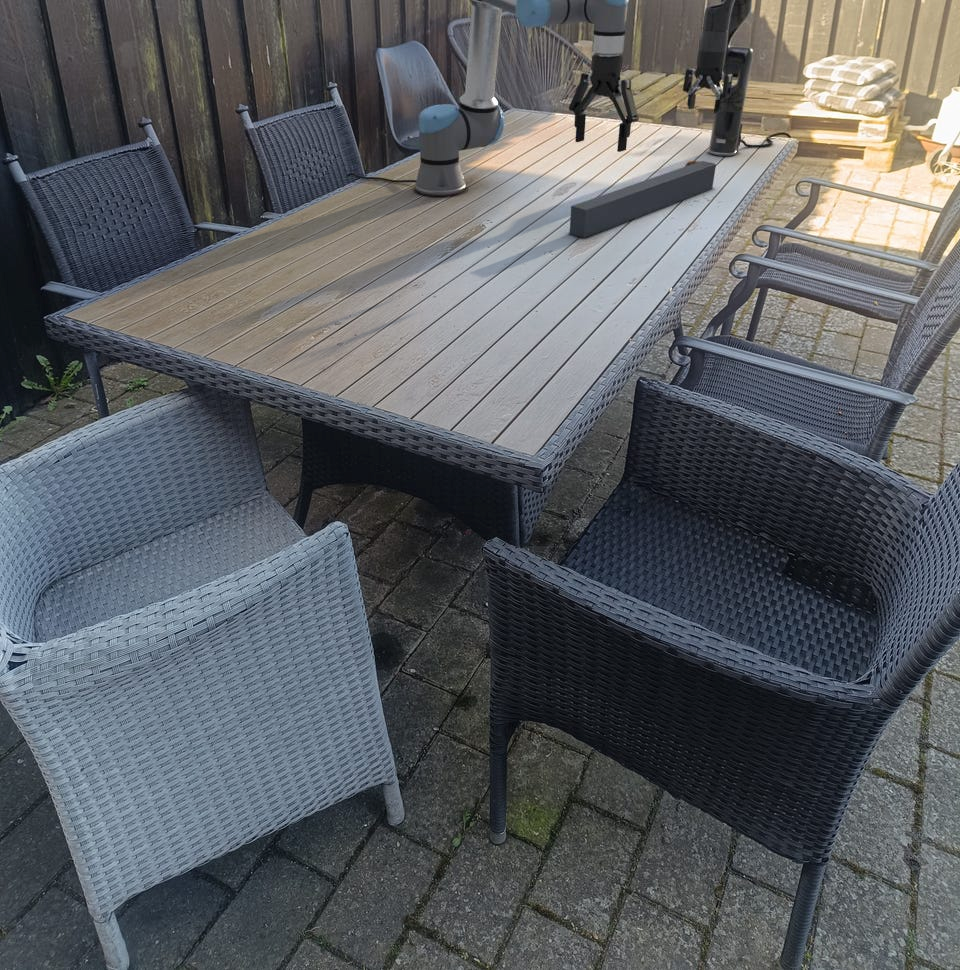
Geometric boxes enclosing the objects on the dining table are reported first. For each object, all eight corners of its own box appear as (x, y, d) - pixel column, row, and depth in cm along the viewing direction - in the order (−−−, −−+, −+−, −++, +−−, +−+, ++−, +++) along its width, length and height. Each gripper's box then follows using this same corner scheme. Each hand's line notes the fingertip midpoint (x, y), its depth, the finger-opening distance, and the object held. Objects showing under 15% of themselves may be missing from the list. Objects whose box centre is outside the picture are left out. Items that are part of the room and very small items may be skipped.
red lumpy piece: (699, 157, 272) (710, 164, 266) (697, 170, 275) (708, 177, 269) (683, 159, 271) (694, 165, 265) (681, 172, 274) (692, 179, 268)
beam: (583, 238, 223) (585, 210, 219) (569, 233, 226) (571, 205, 222) (712, 188, 259) (716, 163, 255) (698, 185, 262) (702, 160, 258)
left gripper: (659, 58, 199) (648, 152, 211) (577, 46, 213) (572, 134, 225) (640, 62, 194) (630, 157, 207) (558, 49, 209) (553, 139, 221)
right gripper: (742, 49, 231) (732, 112, 241) (698, 44, 239) (689, 105, 249) (727, 52, 227) (718, 117, 236) (683, 47, 235) (675, 109, 245)
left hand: (600, 146), depth 216 cm, fingers open, 13 cm apart
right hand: (703, 110), depth 243 cm, fingers open, 8 cm apart
